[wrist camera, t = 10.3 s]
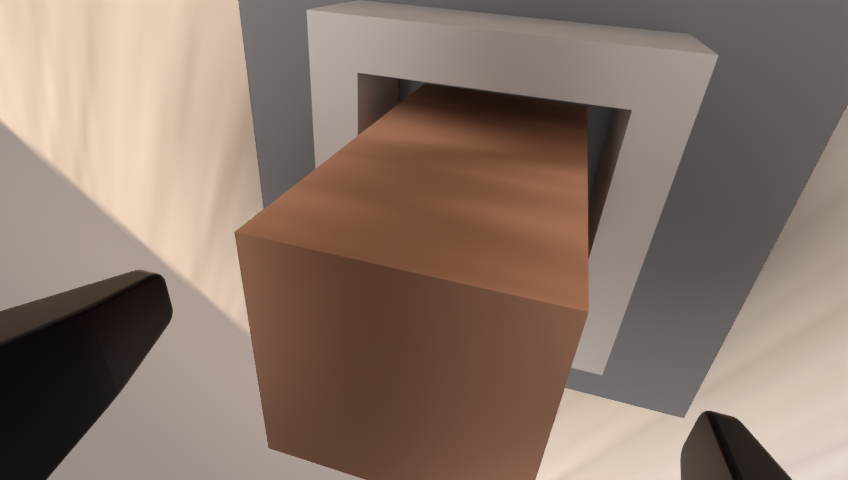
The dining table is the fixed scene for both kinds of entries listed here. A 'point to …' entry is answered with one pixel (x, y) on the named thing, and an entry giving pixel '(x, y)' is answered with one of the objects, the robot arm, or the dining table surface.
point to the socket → (593, 138)
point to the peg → (425, 290)
